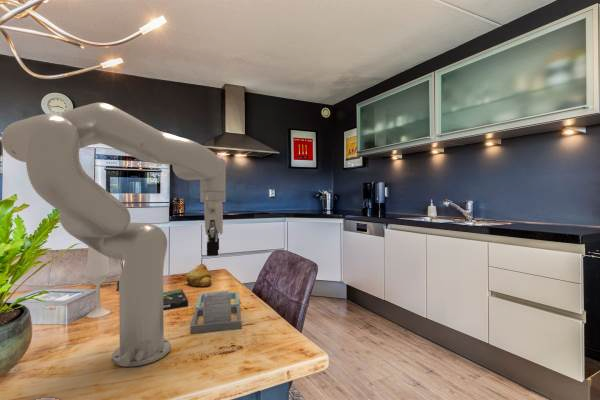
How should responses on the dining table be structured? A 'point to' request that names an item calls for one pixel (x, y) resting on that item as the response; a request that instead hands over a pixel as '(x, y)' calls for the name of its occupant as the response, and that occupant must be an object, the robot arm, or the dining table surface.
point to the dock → (219, 325)
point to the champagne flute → (97, 277)
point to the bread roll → (199, 276)
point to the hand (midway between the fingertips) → (213, 252)
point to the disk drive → (174, 299)
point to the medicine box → (217, 307)
